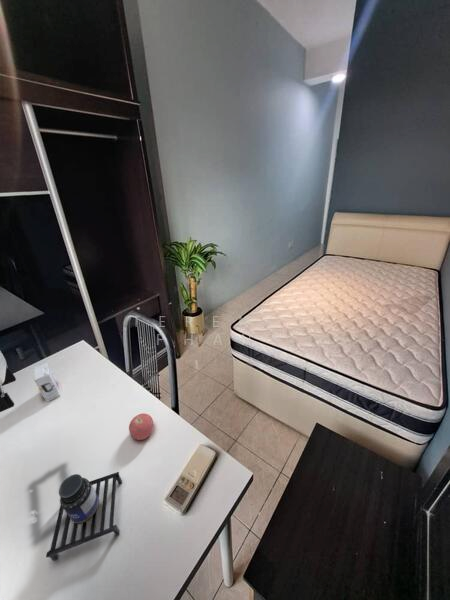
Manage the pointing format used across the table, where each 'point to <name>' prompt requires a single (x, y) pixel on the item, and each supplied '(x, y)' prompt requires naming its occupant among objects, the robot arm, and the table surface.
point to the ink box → (46, 382)
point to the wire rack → (54, 552)
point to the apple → (141, 426)
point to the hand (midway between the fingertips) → (7, 395)
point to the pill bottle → (78, 498)
